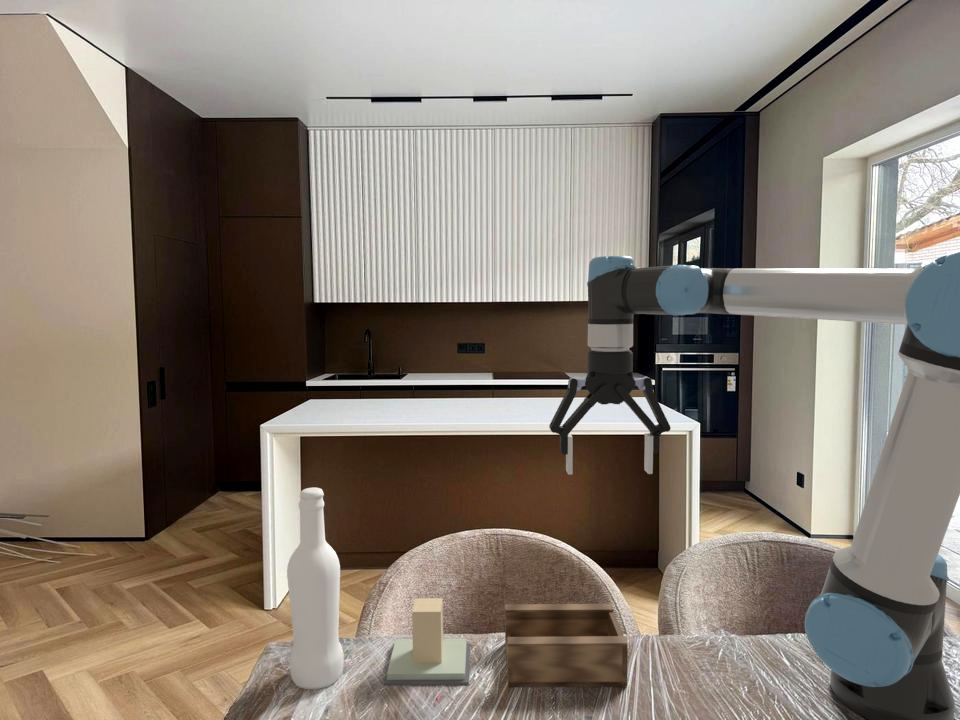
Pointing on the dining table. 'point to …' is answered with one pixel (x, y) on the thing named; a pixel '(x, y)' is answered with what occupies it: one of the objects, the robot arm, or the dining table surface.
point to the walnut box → (564, 646)
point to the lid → (428, 648)
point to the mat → (433, 682)
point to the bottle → (314, 600)
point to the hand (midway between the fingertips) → (608, 472)
